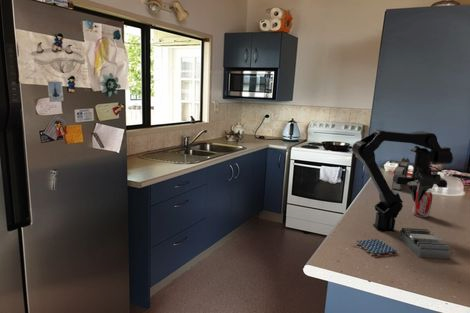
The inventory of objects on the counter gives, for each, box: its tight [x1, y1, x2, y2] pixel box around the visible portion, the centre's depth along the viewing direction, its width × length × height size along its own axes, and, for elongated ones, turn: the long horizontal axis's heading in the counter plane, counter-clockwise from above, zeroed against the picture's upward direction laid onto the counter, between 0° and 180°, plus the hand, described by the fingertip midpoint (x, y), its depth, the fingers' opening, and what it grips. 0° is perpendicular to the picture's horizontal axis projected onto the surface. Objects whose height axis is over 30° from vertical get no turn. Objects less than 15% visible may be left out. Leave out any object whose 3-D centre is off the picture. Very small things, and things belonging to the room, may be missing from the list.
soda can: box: [412, 188, 434, 218], centre depth 159 cm, size 7×7×12 cm
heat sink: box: [398, 227, 451, 260], centre depth 126 cm, size 10×16×5 cm, turn 178°
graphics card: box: [391, 156, 410, 191], centre depth 213 cm, size 33×5×14 cm, turn 148°
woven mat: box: [355, 238, 399, 258], centre depth 123 cm, size 10×11×2 cm
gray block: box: [407, 233, 443, 243], centre depth 126 cm, size 10×4×1 cm, turn 88°
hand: (416, 201), depth 141 cm, fingers closed
